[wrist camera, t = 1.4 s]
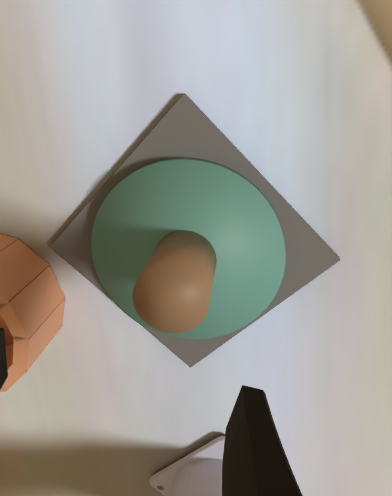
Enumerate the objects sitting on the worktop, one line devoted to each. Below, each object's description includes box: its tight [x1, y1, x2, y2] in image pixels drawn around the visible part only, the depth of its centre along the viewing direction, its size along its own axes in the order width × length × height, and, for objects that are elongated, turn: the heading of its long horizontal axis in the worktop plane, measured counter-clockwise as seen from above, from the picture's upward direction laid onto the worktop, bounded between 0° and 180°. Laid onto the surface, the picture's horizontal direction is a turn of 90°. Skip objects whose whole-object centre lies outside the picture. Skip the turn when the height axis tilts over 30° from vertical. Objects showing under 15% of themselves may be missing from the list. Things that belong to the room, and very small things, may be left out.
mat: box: [50, 94, 340, 367], centre depth 20 cm, size 11×11×1 cm
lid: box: [91, 157, 286, 339], centre depth 17 cm, size 10×10×5 cm
